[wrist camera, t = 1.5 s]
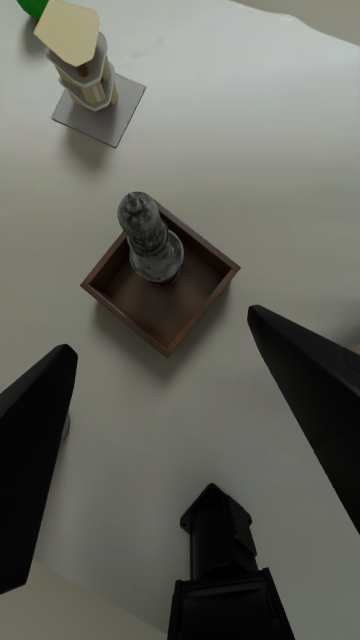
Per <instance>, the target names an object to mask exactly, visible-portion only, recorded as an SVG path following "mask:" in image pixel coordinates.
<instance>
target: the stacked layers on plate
mask: <svg viewBox="0 0 360 640" xmlns="http://www.w3.org/2000/svg"><path fill="white" fill-rule="evenodd" d="M99 28H100V18H99V16H98V14H97V13H96V12H95V11H94V10H92V9H90V8H86V7H82V6H78V5H73V4H69V3H65V2H61V1H57V0H49V2H48V4H47V6H46V8H45V10H44V12H43V14H42V16H41V18H40V20H39V22H38V24H37V26H36V28H35V30H34V35H36V36H37V37H38V38H39V39H40V40H41V41H42V42H43V43H45V44H46V45H47V48H46V50H45V52H44V54H45V56H46V58H47V59H49V60H50V61H51V62H52V63H53V64H54V65H55V67H56V69H57V71H58V73H59V75H60V77H59V79H58V80H59V82H60V84H61V85H62V86H63V87H65V90H64V92H63V94H62V96H61V98H60V100H59V102H58V104H57V106H56V109H55V111H54V113H53V115H52V117H51V118H53V119H55V120H57V121H59V122H62V123H64V124H66V125H68V126H70V127H72V128H75V129H77V130H79V131H81V132H83V133H85V134H88V135H90V136H92V137H94V138H96V139H99V140H101V141H103V142H105V143H107V144H109V145H112V146H114V147H116V146H117V144H118V142H119V140H120V138H121V136H122V134H123V132H124V130H125V128H126V126H127V124H128V122H129V120H130V118H131V116H132V114H133V112H134V110H135V108H136V106H137V104H138V102H139V100H140V98H141V95H142V93H143V91H144V89H145V87H146V86H144V85H142V84H139V83H137V82H135V81H133V80H130V79H128V78H126V77H123V76H121V75H119V74H117V73H115V70H114V67H113V65H112V64H111V63H110V62H109V61H108V58H107V42H106V39H105V37H104V35H103V34H102V33H101V32H99Z"/></svg>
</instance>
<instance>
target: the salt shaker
mask: <svg viewBox="0 0 360 640" xmlns="http://www.w3.org/2000/svg"><path fill="white" fill-rule="evenodd" d="M118 219H119V223H120V225H121V227H122V229H123V230H124V232H125V233H126V234H127V240H128V244H129V246H130V262H131V265H132V267H133V269H134V270H135V272H136V273H137V274H138V275H139V276H140V277H142V278H144V279H146V280H148V281H149V282H150V283H152V284H154V285H157V286H166V285H169V284H171V283H173V282H174V281H175V280H176V279H177V278H178V277H179V275H180V273H181V270H182V263H183V258H184V249H183V246H182V243H181V241H180V239H179V238H178V236H177V235H175V234H174V233H173V232H172V231H170V230H168V227H167V225H166V224H165V222H164V221H163V220H162V219H161V217H160V214H159V210H158V207H157V204H156V203H155V201H154V200H153V198H152V197H150V196H149V195H148V194H146V193H143V192H132V193H128V195H126V196H125V197H124V198H123V199H122V201H121V203H120V205H119V207H118Z"/></svg>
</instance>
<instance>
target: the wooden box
mask: <svg viewBox="0 0 360 640" xmlns="http://www.w3.org/2000/svg"><path fill="white" fill-rule="evenodd" d="M153 200H154V199H153ZM154 201H155V203H156V204H157V207H158V210H159V214H160V217H161V219H162V220H163V221H164V222H165V224H166V225H167V227H168V230H170V231H172V232H173V233H174V234H175V235H177V236H178V238H179V239H180V241H181V243H182V246H183V249H184V258H183V263H182V270H181V273H180V275H179V277H178V278H177V279H176V280H175V281H174V282H173V283H171V284H169V285H166V286H157V285H154V284H152V283H150V282H149V281H148V280H146V279H144V278H142V277H140V276H139V275H138V274H137V273H136V272H135V270H134V269H133V267H132V265H131V262H130V246H129V244H128V240H127V234H126V233H125V232H124V231H123V232H122V233H121V235H120V236H119V237H118V238H117V240H116V241H115V242H114V243H113V245H112V246H111V247H110V248H109V250H108V251H107V252H106V253H105V255H104V256H103V257H102V258H101V260H100V261H99V262H98V263H97V265H96V266H95V267H94V268H93V270H92V271H91V272H90V273H89V275H88V276H87V277H86V278H85V280H84V281H83V282H82V284H81V285H80V286H81V287H82V288H83V289H84V290H86V291H87V292H88V293H89V294H90V295H92V296H93V297H94V298H95V299H96V300H98V301H99V302H100V303H101V304H102V305H104V306H105V307H106V308H107V309H108V310H110V311H111V312H112V313H113V314H114V315H116V316H117V317H118V318H119V319H120V320H122V321H123V322H124V323H125V324H126V325H128V326H129V327H130V328H131V329H132V330H134V331H135V332H136V333H137V334H138V335H140V336H141V337H142V338H143V339H144V340H146V341H147V342H148V343H149V344H150V345H152V346H153V347H154V348H155V349H156V350H158V351H159V352H160V353H161V354H162V355H164V356H165V357H166V358H168V356H169V355H170V354H171V353H172V352H173V350H174V349H175V348H176V347H177V345H178V344H179V343H180V342H181V341H182V339H183V338H184V337H185V336H186V334H187V333H188V332H189V331H190V330H191V328H192V327H193V326H194V325H195V323H196V322H197V321H198V320H199V319H200V317H201V316H202V315H203V314H204V312H205V311H206V310H207V309H208V308H209V306H210V305H211V304H212V303H213V301H214V300H215V299H216V298H217V297H218V295H219V294H220V293H221V292H222V290H223V289H224V288H225V287H226V286H227V284H228V283H229V282H230V281H231V279H232V278H233V277H234V276H235V275H236V273H237V272H238V271H239V270H240V268H241V267H240V266H238V265H237V264H236V263H235V262H233V261H232V260H231V259H229V258H228V257H227V256H226V255H224V254H223V253H222V252H221V251H219V250H218V249H217V248H215V247H214V246H213V245H212V244H210V243H209V242H208V241H207V240H205V239H204V238H203V237H201V236H200V235H199V234H198V233H196V232H195V231H194V230H192V229H191V228H190V227H189V226H187V225H186V224H185V223H184V222H182V221H181V220H180V219H178V218H177V217H176V216H175V215H173V214H172V213H171V212H170V211H168V210H167V209H166V208H164V207H163V206H162V205H161V204H159V203H158V202H157V201H156V200H154Z"/></svg>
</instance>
